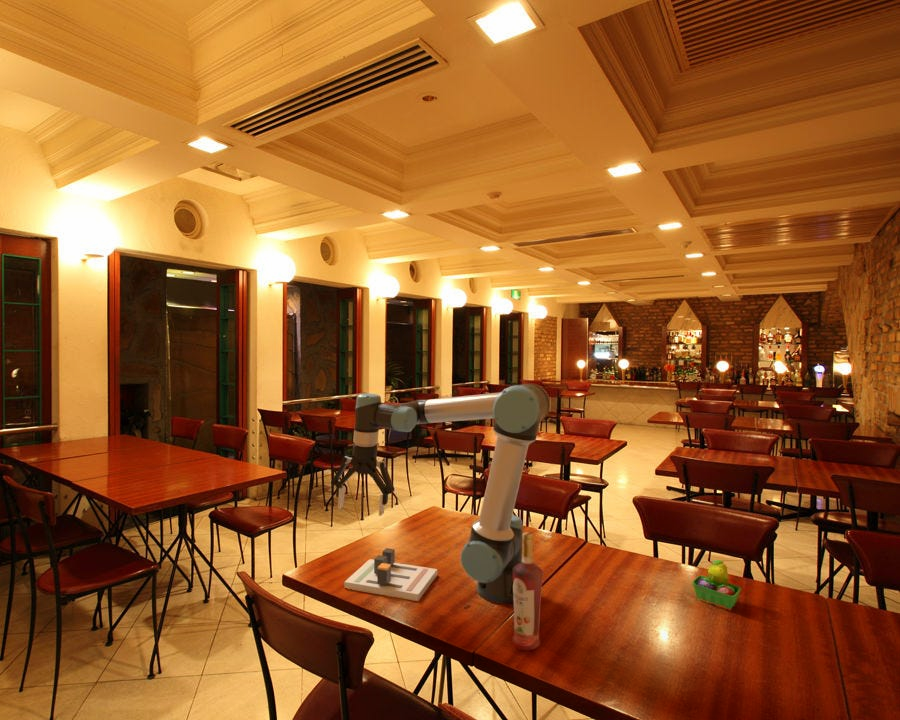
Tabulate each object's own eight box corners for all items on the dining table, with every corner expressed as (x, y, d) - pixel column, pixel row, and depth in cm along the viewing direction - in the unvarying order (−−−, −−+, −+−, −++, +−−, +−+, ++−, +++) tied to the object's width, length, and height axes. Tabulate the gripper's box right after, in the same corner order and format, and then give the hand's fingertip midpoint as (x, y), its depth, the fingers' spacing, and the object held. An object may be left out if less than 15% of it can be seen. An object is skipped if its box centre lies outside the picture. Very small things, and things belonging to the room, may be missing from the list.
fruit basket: (690, 599, 145) (691, 562, 145) (700, 589, 151) (701, 553, 151) (733, 614, 137) (734, 574, 137) (742, 603, 143) (743, 565, 143)
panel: (437, 575, 159) (437, 568, 159) (418, 601, 142) (418, 593, 142) (369, 564, 166) (369, 558, 166) (344, 588, 149) (344, 581, 149)
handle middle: (386, 570, 156) (387, 556, 156) (382, 574, 153) (383, 560, 153) (378, 569, 157) (378, 555, 157) (374, 573, 154) (374, 559, 154)
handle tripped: (390, 580, 149) (390, 564, 149) (386, 585, 146) (386, 568, 146) (381, 579, 150) (381, 563, 150) (377, 583, 147) (377, 567, 147)
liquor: (547, 646, 122) (548, 534, 121) (529, 659, 116) (531, 542, 116) (523, 633, 127) (524, 526, 126) (505, 645, 122) (506, 533, 121)
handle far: (394, 562, 162) (394, 549, 162) (390, 566, 159) (390, 552, 159) (386, 561, 163) (386, 548, 163) (382, 565, 160) (382, 551, 160)
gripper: (407, 446, 153) (402, 512, 154) (333, 436, 158) (329, 500, 160) (399, 451, 146) (394, 521, 147) (322, 441, 151) (318, 508, 152)
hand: (360, 510), depth 153 cm, fingers open, 13 cm apart
